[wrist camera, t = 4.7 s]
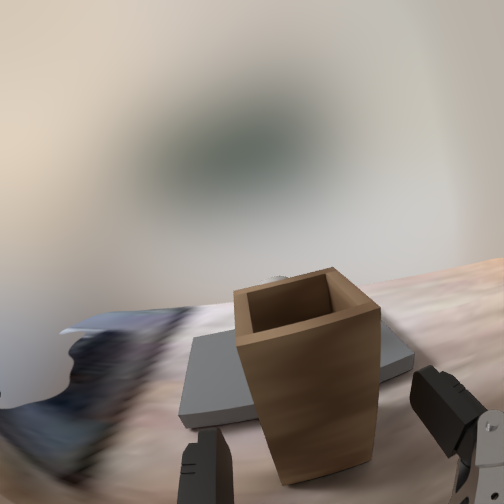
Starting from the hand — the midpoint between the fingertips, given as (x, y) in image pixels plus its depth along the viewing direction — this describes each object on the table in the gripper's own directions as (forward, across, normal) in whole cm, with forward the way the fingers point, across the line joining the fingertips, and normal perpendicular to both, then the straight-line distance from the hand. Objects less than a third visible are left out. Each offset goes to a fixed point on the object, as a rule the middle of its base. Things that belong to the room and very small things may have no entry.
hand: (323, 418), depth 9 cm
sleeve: (+3, 0, +6) cm, 7 cm away
